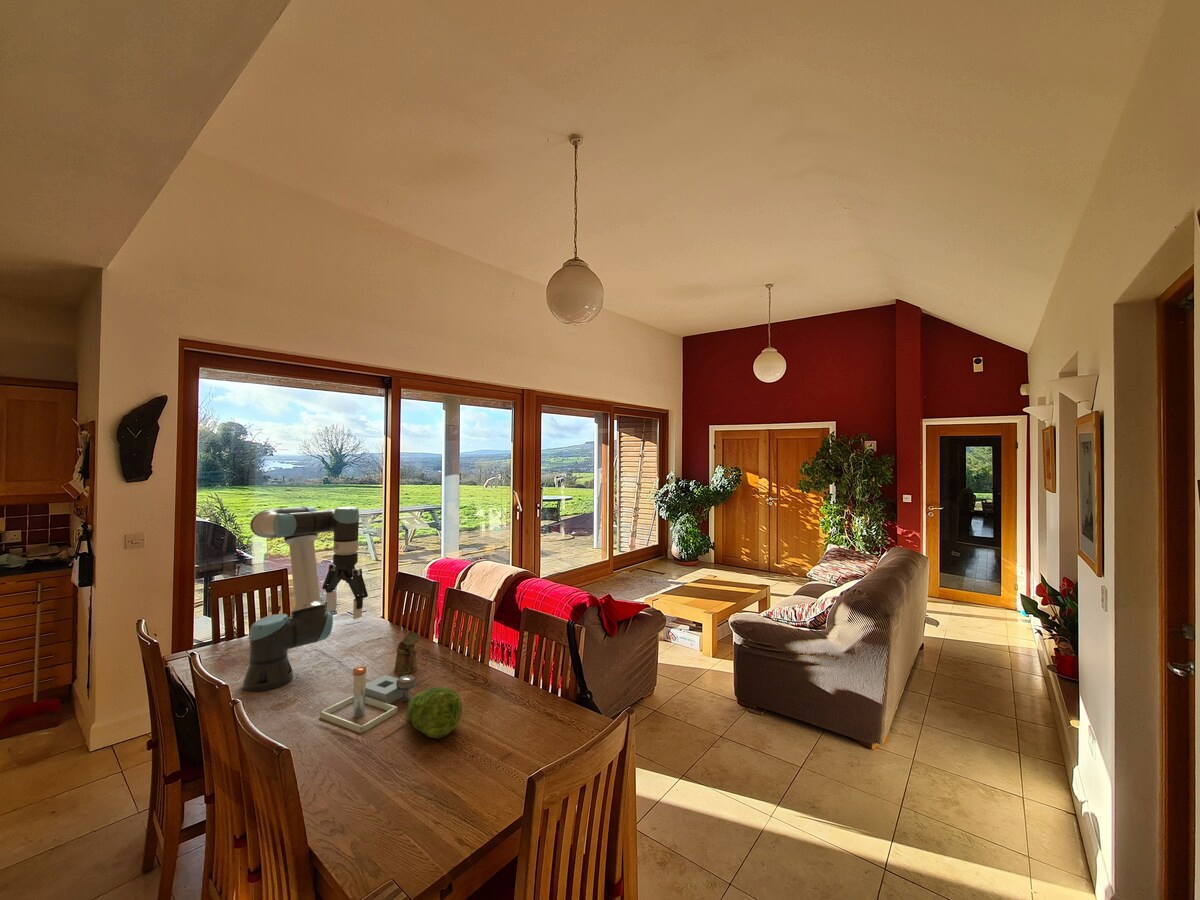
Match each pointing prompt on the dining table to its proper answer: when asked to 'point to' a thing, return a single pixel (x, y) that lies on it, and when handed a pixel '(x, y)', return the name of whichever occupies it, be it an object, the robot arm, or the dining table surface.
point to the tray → (353, 726)
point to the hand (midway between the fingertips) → (344, 614)
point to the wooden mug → (407, 655)
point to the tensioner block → (383, 689)
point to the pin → (359, 692)
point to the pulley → (406, 685)
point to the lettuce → (435, 711)
